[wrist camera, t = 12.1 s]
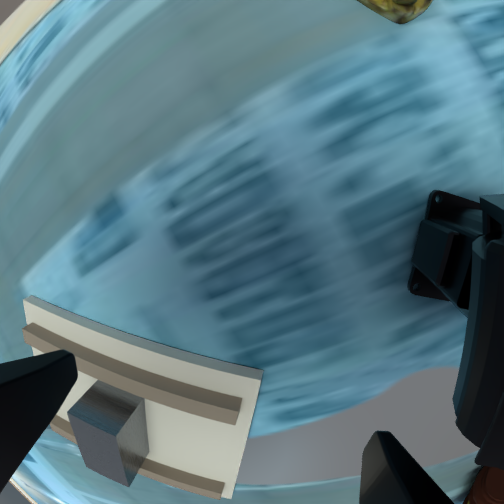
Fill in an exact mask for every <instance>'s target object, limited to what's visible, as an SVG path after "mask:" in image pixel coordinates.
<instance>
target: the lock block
mask: <svg viewBox="0 0 504 504" xmlns="http://www.w3.org/2000/svg"><path fill="white" fill-rule="evenodd" d="M67 415H68V418H69V421H70V424H71V427H72V430H73V433H74V436H75V439H76V441H77V444H78V447H79V449H80V452H81V455H82V457H83V460H84V462H85V464H86V467H88V468H90V469H91V470H93V471H95V472H97V473H99V474H101V475H103V476H105V477H107V478H109V479H112V480H114V481H116V482H118V483H120V484H123V485H125V486H127V487H129V486H130V485H131V483H132V481H133V479H134V478H135V476H136V474H137V473H138V471H139V469H140V467H141V466H142V464H143V462H144V460H145V459H146V457H147V455H148V453H149V452H150V451H149V443H148V433H147V423H146V412H145V398H142V397H139V396H137V395H134V394H132V393H129V392H126V391H124V390H121V389H119V388H116V387H114V386H112V385H109V384H107V383H105V382H102V381H100V380H97V381H96V382H95V383H94V384H93V385H92V386H91V387H90V388H89V389H88V390H87V391H86V392H85V393H84V395H83V396H82V397H81V398H80V399H79V400H78V401H77V402H76V403H75V404H74V405H73V406H72V407H71V408H70V409H69V410H68V411H67Z"/></svg>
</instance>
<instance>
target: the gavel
mask: <svg viewBox="0 0 504 504" xmlns="http://www.w3.org/2000/svg"><path fill="white" fill-rule="evenodd" d="M463 504H504V470H502V469H499V468H496V467H489V466H484V467H483V468H482V469H481V471H480V472H479V473H478V475H477V477H476V479H475V482H474V483H473V485H472V487H471V490H470V493H469V494H468V495H467V497H466V498H465V500H464V502H463Z"/></svg>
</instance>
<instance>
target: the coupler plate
mask: <svg viewBox="0 0 504 504" xmlns="http://www.w3.org/2000/svg"><path fill="white" fill-rule="evenodd" d="M23 302H24V309H25V315H26V321H27V326H25V327H24V328H22V330H23V335H24V340H25V343H27V344H29V345H30V346H32V350H33V354H34V356H36V355H40V354H44V353H49V352H53V351H57V350H61V349H64V350H67V351H69V352H71V353H73V354H74V356H75V359H76V365H77V370H78V378H77V381H76V383H75V384H74V386H73V388H72V389H71V391H70V392H69V394H68V396H67V397H66V399H65V401H64V403H63V404H62V406H61V408H60V409H59V411H58V412H57V414H56V415H55V417H54V418H53V420H52V421H51V422H50V425H51V428H52V430H53V431H55V432H56V433H58V434H60V435H61V436H63V437H65V438H67V439H68V440H70V441H72V442H74V443H75V444H77V441H76V439H75V436H74V433H73V430H72V427H71V424H70V421H69V418H68V415H67V411H68V410H69V409H70V408H71V407H72V406H73V405H74V404H75V403H76V402H77V401H78V400H79V399H80V398H81V397H82V396H83V395H84V393H85V392H86V391H87V390H88V389H89V388H90V387H91V386H92V385H93V384H94V383H95V382H96V381H97V380H100V381H102V382H105V383H107V384H109V385H112V386H114V387H116V388H119V389H121V390H124V391H126V392H129V393H132V394H134V395H137V396H139V397H142V398H145V412H146V423H147V433H148V443H149V451H150V452H149V453H148V455H147V457H146V459H145V460H144V462H143V464H142V466H141V467H140V469H139V471H138V474H141V475H143V476H146V477H148V478H151V479H154V480H156V481H159V482H162V483H165V484H167V485H170V486H173V487H176V488H179V489H183V490H186V491H189V492H192V493H196V494H199V495H203V496H207V497H210V498H214V499H218V500H220V498H221V497H224V498H228V499H231V497H232V494H233V490H234V487H235V483H236V479H237V476H238V472H239V468H240V464H241V460H242V456H243V452H244V449H245V445H246V441H247V437H248V433H249V429H250V425H251V421H252V417H253V413H254V409H255V405H256V400H257V396H258V392H259V388H260V384H261V379H262V375H263V371H264V370H259V369H255V368H250V367H246V366H241V365H237V364H233V363H228V362H224V361H220V360H216V359H212V358H208V357H205V356H201V355H197V354H194V353H190V352H186V351H183V350H179V349H176V348H172V347H169V346H166V345H162V344H159V343H156V342H153V341H150V340H146V339H143V338H140V337H137V336H134V335H131V334H128V333H125V332H122V331H119V330H117V329H114V328H111V327H108V326H105V325H103V324H100V323H97V322H95V321H92V320H89V319H87V318H84V317H82V316H79V315H77V314H74V313H72V312H69V311H67V310H64V309H62V308H59V307H57V306H55V305H52V304H50V303H48V302H45V301H43V300H41V299H39V298H36V297H34V296H32V295H31V296H29V297H27V298H25V299H23ZM77 445H78V444H77Z"/></svg>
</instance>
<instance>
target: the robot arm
mask: <svg viewBox="0 0 504 504" xmlns="http://www.w3.org/2000/svg"><path fill="white" fill-rule="evenodd" d="M437 195H439V196H440V200H439V202H436V199H435V198H436V196H437ZM412 263H413V268H412V272H411V275H410V279H409V282H408V290H409V291H410V292H411V293H412V294H414V295H418V296H424V297H429V298H435V299H440V300H445V301H451V302H452V303H453V304H454V305H455V306H456V307H457V308H458V309H459V310H460V311H461V312H462V313H463V314H464V315H465V316H466V317H467V318H468V320H467V327H466V334H465V341H464V347H463V353H462V358H461V363H460V368H459V373H458V378H457V382H456V387H455V391H454V395H453V404H454V409H455V414H456V416H457V419H456V426H457V427H458V428H459V430H460V431H461V433H462V434H463V435H464V436H465V437H466V438H467V439H468V440H469V441H471V442H472V443H473V444H474V445H476V446H477V447H479V448H480V450H479V452H478V454H477V456H476V458H475V463H476V464H477V465H483V466H489V467H496V468H499V469H502V470H504V194H499V195H486V196H480V203H477V202H474V201H471V200H468V199H465V198H462V197H459V196H456V195H453V194H450V193H447V192H443V191H440V190H434V191H432V192H431V194H430V197H429V202H428V207H427V212H426V216H425V219H424V220H423V221H422V222H421V224H420V228H419V233H418V237H417V241H416V245H415V249H414V253H413V257H412ZM416 283H418V287H417V288H416V289H413V286H414V285H415V284H416ZM77 378H78V370H77V365H76V359H75V356H74V354H73V353H71V352H69V351H67V350H64V349H61V350H57V351H53V352H49V353H44V354H40V355H36V356H32V357H28V358H23V359H19V360H15V361H10V362H6V363H1V364H0V493H1V492H2V490H3V488H4V487H5V486H6V484H7V482H8V481H9V480H10V478H11V477H12V475H13V474H14V472H15V471H16V469H17V468H18V467H19V465H20V464H21V462H22V461H23V459H24V458H25V457H26V455H27V454H28V452H29V451H30V450H31V448H32V447H33V445H34V444H35V443H36V441H37V440H38V439H39V437H40V436H41V434H42V433H43V432H44V430H45V429H46V428H47V426H48V425H49V424H50V422H51V421H52V420H53V418H54V417H55V415H56V414H57V412H58V411H59V409H60V408H61V406H62V404H63V403H64V401H65V399H66V397H67V396H68V394H69V392H70V391H71V389H72V388H73V386H74V384H75V383H76V381H77ZM359 504H454V503H453V502H452V501H451V499H450V498H449V497H448V496H447V495H446V494H445V493H444V492H443V491H442V489H441V488H440V487H439V486H438V485H437V484H436V483H435V482H434V481H433V479H432V478H431V477H430V476H429V475H428V474H427V473H426V472H425V471H424V469H423V468H422V467H421V466H420V465H419V464H418V463H417V462H416V460H415V459H414V458H413V457H412V456H411V455H410V454H409V453H408V451H407V450H406V449H405V448H404V447H403V446H402V445H401V444H400V443H399V441H398V440H397V439H396V438H395V437H394V436H393V434H391V432H389V431H376V432H375V433H374V434H373V435H372V437H371V439H370V440H369V442H368V444H367V445H366V447H365V448H364V451H363V456H362V472H361V485H360V497H359Z"/></svg>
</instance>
